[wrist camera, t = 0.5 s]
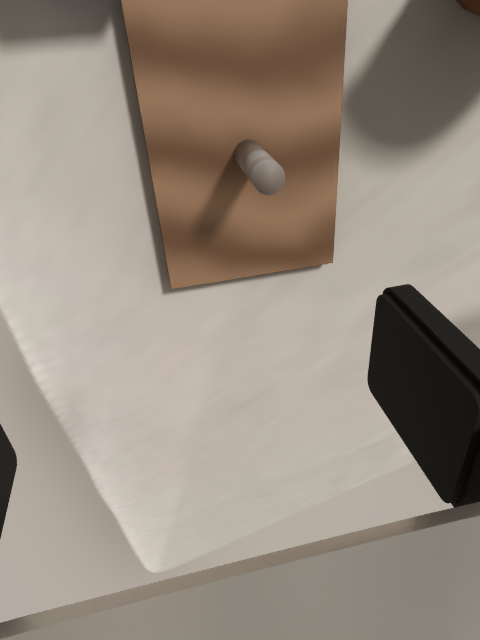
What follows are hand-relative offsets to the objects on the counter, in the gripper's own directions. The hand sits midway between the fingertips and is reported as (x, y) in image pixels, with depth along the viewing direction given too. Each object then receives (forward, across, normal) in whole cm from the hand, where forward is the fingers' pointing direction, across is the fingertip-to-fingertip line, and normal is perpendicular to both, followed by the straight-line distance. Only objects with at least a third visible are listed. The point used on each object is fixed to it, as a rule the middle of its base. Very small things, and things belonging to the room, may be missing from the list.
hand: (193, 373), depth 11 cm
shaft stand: (+26, -7, +2) cm, 27 cm away
